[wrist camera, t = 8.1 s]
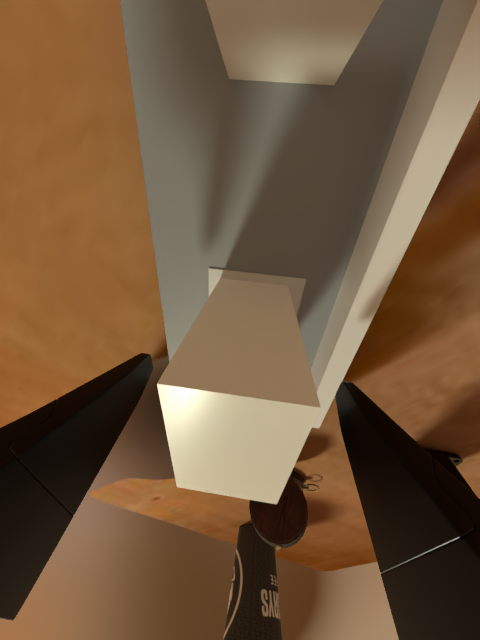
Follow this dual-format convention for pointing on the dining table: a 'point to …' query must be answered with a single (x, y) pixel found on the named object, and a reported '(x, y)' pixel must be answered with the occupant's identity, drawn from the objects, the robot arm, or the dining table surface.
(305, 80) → the faced carton
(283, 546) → the compass
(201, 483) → the carton
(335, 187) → the shelf board
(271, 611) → the coffee cup
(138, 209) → the dining table surface
